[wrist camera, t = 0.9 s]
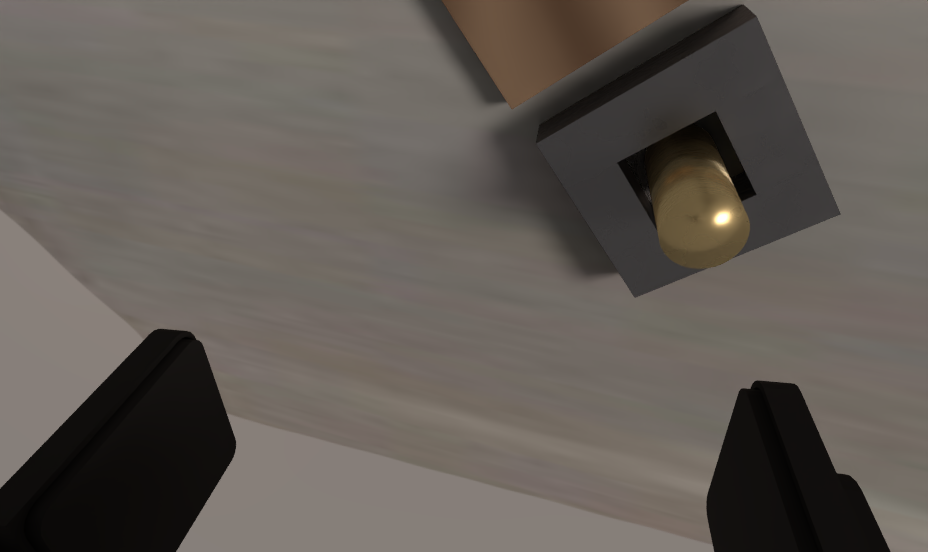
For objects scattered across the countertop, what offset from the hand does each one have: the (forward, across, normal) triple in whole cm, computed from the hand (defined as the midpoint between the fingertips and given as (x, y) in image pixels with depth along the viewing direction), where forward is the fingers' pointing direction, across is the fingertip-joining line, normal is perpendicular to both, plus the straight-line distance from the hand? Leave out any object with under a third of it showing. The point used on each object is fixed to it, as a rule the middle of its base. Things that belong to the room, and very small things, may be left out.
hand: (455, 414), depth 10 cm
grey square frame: (+28, -8, +6) cm, 29 cm away
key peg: (+28, -8, +6) cm, 29 cm away
